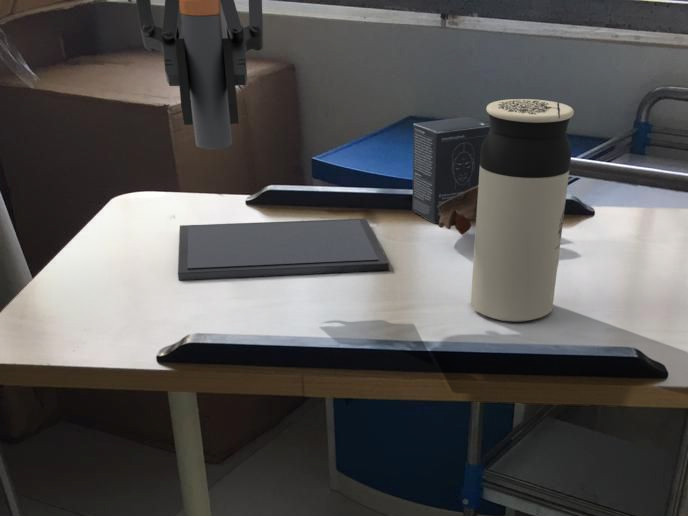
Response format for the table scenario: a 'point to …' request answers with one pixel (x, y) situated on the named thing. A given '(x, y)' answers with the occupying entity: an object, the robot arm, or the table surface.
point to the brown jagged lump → (459, 210)
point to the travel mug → (520, 209)
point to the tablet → (278, 249)
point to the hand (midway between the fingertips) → (210, 114)
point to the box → (445, 162)
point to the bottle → (206, 72)
